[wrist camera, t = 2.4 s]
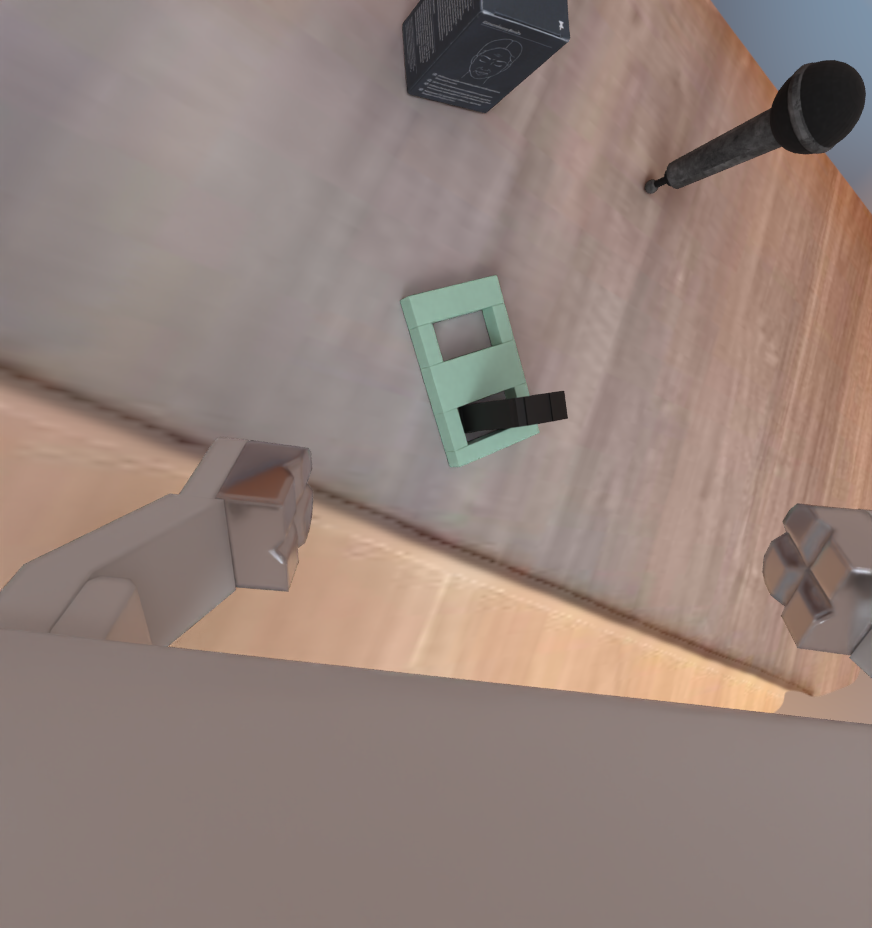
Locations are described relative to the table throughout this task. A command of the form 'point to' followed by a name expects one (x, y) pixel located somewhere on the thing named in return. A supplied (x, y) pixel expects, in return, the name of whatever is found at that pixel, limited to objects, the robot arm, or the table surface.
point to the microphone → (781, 124)
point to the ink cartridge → (514, 412)
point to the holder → (467, 364)
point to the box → (479, 47)
